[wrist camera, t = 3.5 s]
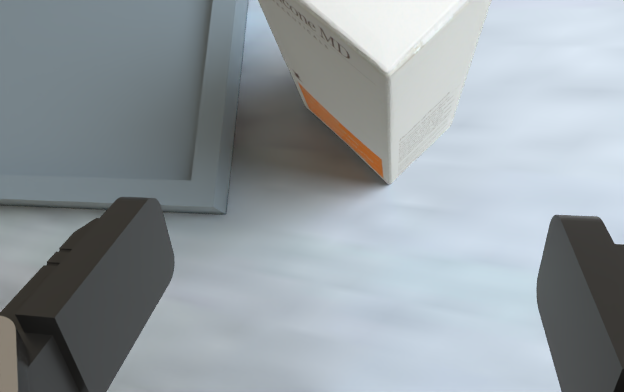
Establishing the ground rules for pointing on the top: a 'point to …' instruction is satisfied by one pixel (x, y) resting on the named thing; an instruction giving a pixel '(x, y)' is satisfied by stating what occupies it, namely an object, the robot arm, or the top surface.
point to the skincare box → (380, 69)
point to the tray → (119, 101)
